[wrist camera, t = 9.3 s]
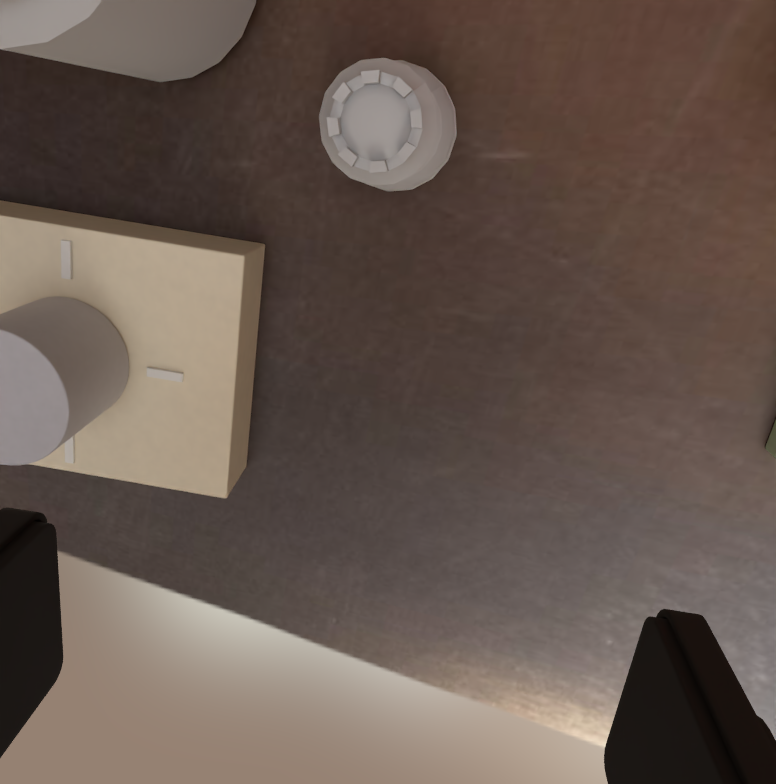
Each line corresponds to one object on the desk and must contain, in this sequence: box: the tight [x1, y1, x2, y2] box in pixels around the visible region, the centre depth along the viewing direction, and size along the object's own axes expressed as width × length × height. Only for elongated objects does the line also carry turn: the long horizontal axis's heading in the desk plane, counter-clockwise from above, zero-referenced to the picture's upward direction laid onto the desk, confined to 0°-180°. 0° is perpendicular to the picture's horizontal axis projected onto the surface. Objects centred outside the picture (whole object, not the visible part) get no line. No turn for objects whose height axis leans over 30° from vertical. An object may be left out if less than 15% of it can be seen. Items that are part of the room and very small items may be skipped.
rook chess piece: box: [319, 58, 457, 191], centre depth 22 cm, size 4×4×8 cm
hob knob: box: [0, 296, 129, 465], centre depth 24 cm, size 5×5×5 cm
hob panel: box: [0, 200, 265, 498], centre depth 28 cm, size 10×13×3 cm
